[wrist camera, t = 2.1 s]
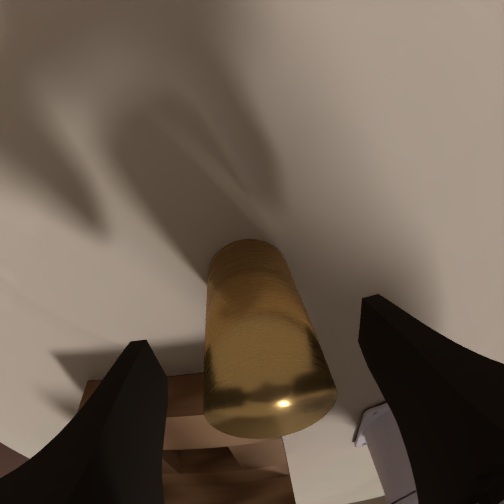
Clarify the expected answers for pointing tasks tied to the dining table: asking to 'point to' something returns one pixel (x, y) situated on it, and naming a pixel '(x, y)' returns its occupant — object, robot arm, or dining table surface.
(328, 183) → the dining table surface
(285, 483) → the socket block
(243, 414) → the peg
